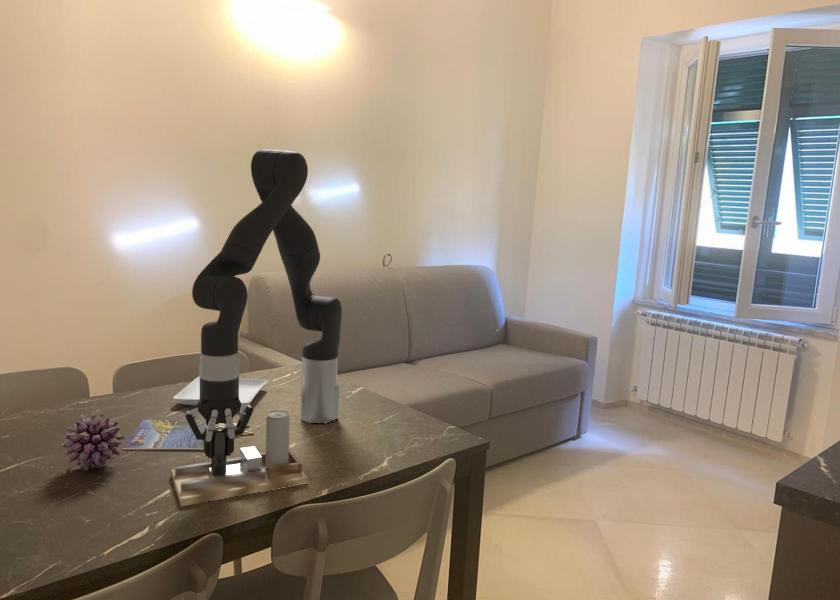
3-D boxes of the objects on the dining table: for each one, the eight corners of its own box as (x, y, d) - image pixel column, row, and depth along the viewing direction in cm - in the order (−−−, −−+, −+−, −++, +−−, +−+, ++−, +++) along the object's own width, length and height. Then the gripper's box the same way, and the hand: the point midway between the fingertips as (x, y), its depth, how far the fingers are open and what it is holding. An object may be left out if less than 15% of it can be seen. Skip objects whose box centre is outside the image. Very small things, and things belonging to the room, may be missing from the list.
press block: (254, 463, 137) (254, 420, 136) (261, 475, 132) (262, 430, 131) (208, 470, 133) (208, 425, 131) (214, 482, 128) (214, 436, 126)
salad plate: (249, 413, 173) (249, 401, 173) (171, 409, 173) (171, 397, 173) (268, 390, 194) (268, 379, 193) (198, 385, 194) (198, 375, 194)
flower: (48, 472, 132) (46, 417, 130) (96, 452, 143) (95, 401, 141) (91, 484, 128) (89, 428, 126) (137, 462, 139) (136, 410, 137)
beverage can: (283, 473, 134) (284, 419, 132) (261, 470, 135) (262, 416, 133) (291, 464, 139) (293, 411, 137) (271, 461, 140) (272, 409, 138)
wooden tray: (287, 458, 145) (288, 443, 145) (307, 484, 133) (308, 468, 133) (170, 476, 133) (170, 460, 133) (181, 506, 121) (180, 489, 121)
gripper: (185, 382, 121) (185, 468, 124) (259, 376, 128) (258, 457, 130) (179, 372, 127) (179, 453, 130) (250, 366, 134) (249, 444, 137)
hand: (219, 455), depth 130 cm, fingers closed on press block, 3 cm apart
